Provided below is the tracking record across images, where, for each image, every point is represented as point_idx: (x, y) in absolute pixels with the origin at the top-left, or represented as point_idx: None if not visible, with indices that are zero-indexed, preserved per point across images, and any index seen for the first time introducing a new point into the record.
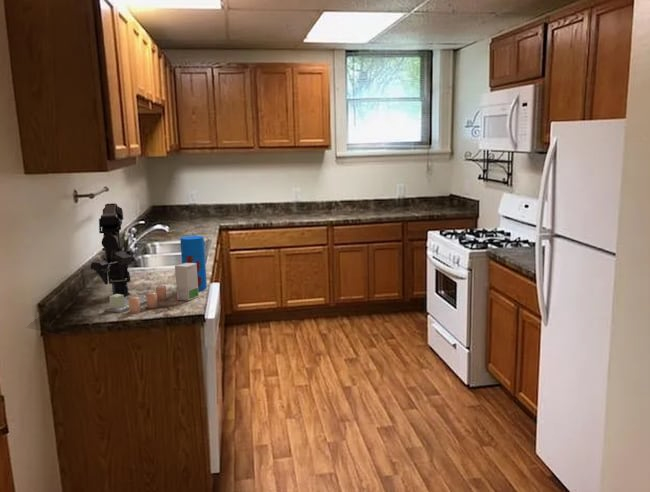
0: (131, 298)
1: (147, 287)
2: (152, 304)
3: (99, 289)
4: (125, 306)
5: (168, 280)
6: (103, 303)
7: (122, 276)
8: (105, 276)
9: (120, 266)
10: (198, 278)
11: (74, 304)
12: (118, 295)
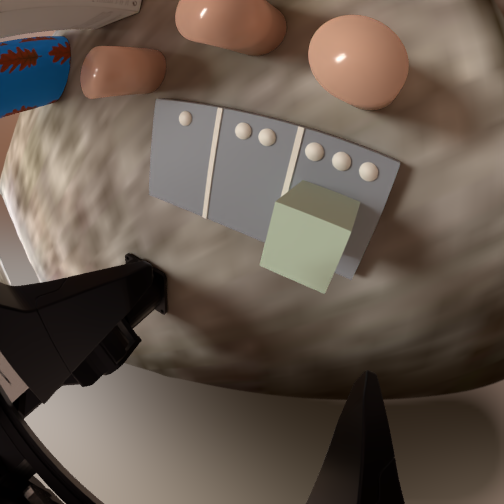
0: (376, 72)
1: (78, 228)
2: (270, 4)
3: (139, 348)
4: (309, 170)
5: (41, 201)
6: (244, 313)
7: (132, 293)
8: (395, 471)
9: (56, 367)
10: (28, 40)
11: (271, 390)
12: (298, 234)
